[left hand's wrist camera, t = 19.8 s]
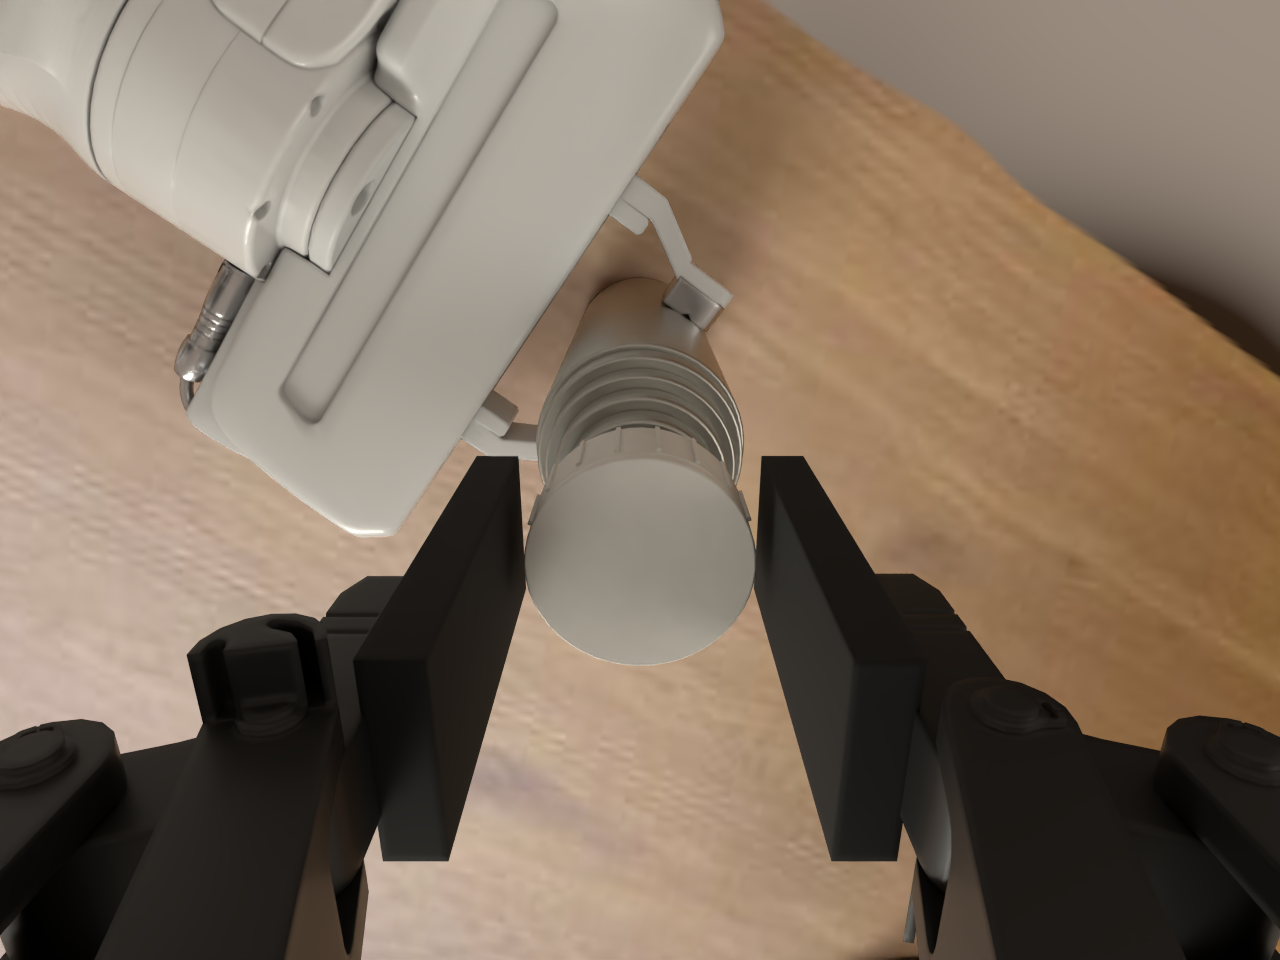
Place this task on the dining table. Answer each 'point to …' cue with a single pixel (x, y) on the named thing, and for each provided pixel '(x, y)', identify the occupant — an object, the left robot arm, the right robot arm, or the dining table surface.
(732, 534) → the cap
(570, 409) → the bottle
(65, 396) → the dining table surface
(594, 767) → the dining table surface
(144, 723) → the dining table surface
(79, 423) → the dining table surface
